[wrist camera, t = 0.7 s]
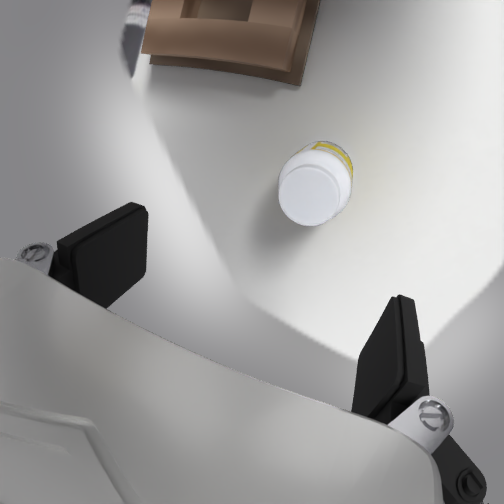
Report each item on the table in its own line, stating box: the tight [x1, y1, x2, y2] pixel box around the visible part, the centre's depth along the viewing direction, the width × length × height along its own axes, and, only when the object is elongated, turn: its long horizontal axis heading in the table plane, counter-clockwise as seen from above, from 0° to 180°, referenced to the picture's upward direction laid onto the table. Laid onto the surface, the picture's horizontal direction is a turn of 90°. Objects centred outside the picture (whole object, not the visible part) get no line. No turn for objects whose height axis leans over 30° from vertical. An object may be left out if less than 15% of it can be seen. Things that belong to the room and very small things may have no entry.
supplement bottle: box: [278, 141, 353, 226], centre depth 24 cm, size 5×5×10 cm
